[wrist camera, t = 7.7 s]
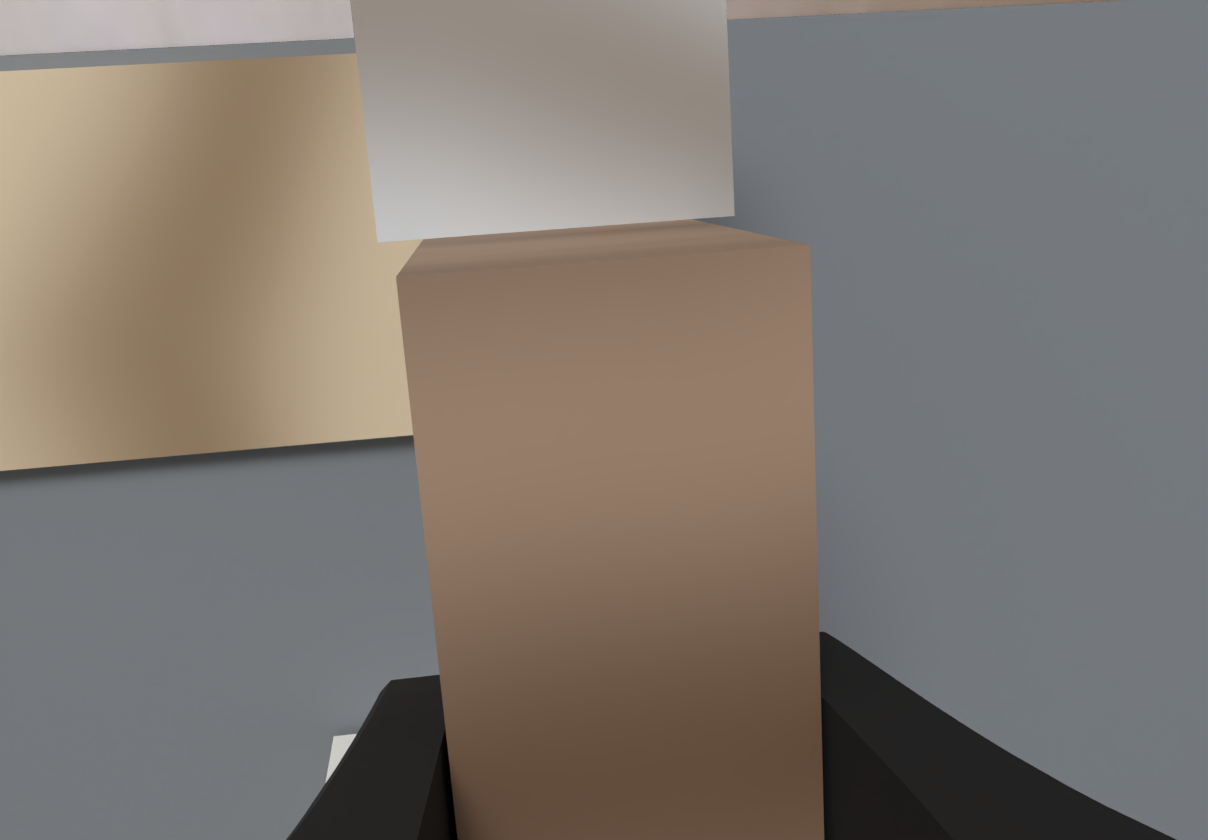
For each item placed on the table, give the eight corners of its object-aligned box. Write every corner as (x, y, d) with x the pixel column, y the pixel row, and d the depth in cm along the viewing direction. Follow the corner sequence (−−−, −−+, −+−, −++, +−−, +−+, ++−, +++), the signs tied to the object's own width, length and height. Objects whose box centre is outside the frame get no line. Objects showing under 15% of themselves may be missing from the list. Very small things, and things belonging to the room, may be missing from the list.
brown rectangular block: (752, 883, 15) (885, 1223, 10) (457, 923, 15) (450, 1297, 10) (714, -60, 12) (873, -211, 7) (350, -41, 12) (264, -189, 7)
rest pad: (555, 42, 16) (558, 42, 15) (577, 412, 18) (581, 420, 17) (-188, 80, 15) (-205, 81, 14) (-83, 469, 17) (-95, 479, 16)
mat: (1358, -11, 18) (1388, -13, 17) (1216, 852, 23) (1235, 872, 23) (-246, 68, 15) (-272, 68, 15) (26, 1015, 21) (14, 1043, 20)
